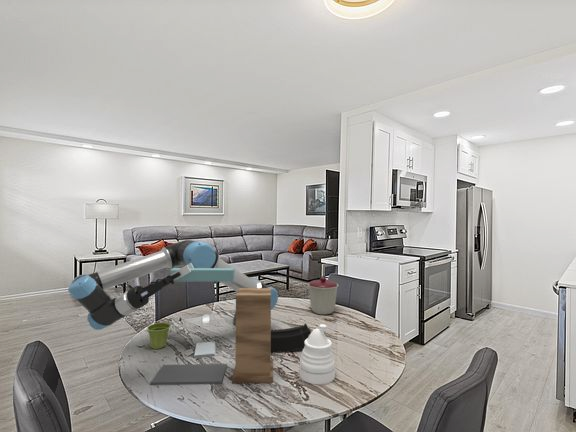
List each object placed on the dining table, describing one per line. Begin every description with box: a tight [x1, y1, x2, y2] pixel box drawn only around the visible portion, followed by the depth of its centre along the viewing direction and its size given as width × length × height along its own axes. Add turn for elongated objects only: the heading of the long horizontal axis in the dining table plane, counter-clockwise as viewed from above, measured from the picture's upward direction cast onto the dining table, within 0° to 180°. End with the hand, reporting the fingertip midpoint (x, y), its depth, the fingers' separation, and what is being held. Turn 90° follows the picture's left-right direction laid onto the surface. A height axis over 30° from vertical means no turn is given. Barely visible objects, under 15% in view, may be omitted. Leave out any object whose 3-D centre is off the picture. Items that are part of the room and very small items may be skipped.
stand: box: [231, 288, 274, 384], centre depth 110 cm, size 12×14×30 cm
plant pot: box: [146, 322, 171, 350], centre depth 132 cm, size 9×9×9 cm
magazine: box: [271, 323, 313, 354], centre depth 128 cm, size 17×3×30 cm
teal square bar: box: [169, 267, 236, 283], centre depth 109 cm, size 4×22×4 cm, turn 93°
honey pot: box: [299, 323, 336, 386], centre depth 110 cm, size 13×13×18 cm
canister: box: [307, 275, 340, 316], centre depth 179 cm, size 18×18×21 cm
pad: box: [149, 363, 228, 386], centre depth 109 cm, size 12×24×1 cm, turn 92°
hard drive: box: [193, 340, 216, 359], centre depth 129 cm, size 2×8×12 cm
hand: (190, 267), depth 109 cm, fingers closed on teal square bar, 4 cm apart
